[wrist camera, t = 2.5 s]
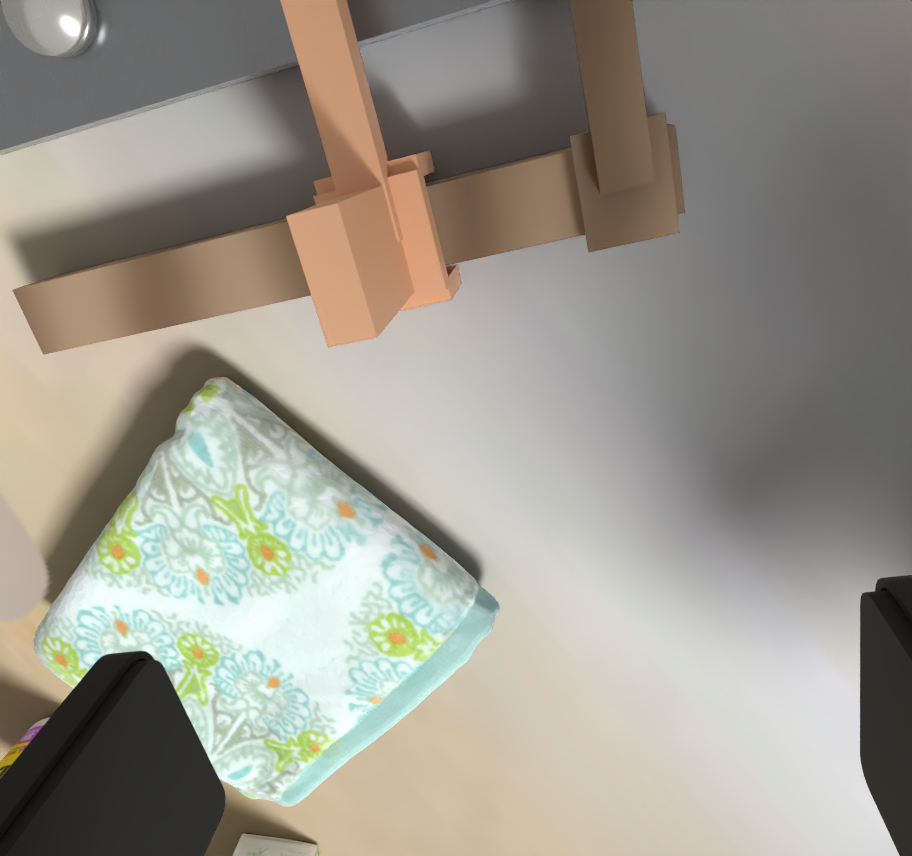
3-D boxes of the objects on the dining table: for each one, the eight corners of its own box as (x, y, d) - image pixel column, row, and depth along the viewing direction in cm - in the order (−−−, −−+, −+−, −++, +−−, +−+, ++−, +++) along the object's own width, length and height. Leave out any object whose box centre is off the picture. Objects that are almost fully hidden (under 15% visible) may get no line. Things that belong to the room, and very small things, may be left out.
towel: (58, 606, 43) (-4, 665, 38) (231, 357, 34) (180, 396, 30) (298, 768, 46) (268, 841, 41) (512, 576, 37) (505, 641, 33)
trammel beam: (625, -201, 23) (640, -276, 19) (674, 215, 28) (695, 234, 24) (-51, 37, 30) (-162, 24, 25) (88, 345, 35) (17, 379, 30)
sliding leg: (365, -119, 25) (259, -244, 16) (461, 283, 30) (420, 351, 21) (262, -83, 25) (109, -182, 17) (373, 302, 31) (299, 375, 22)
